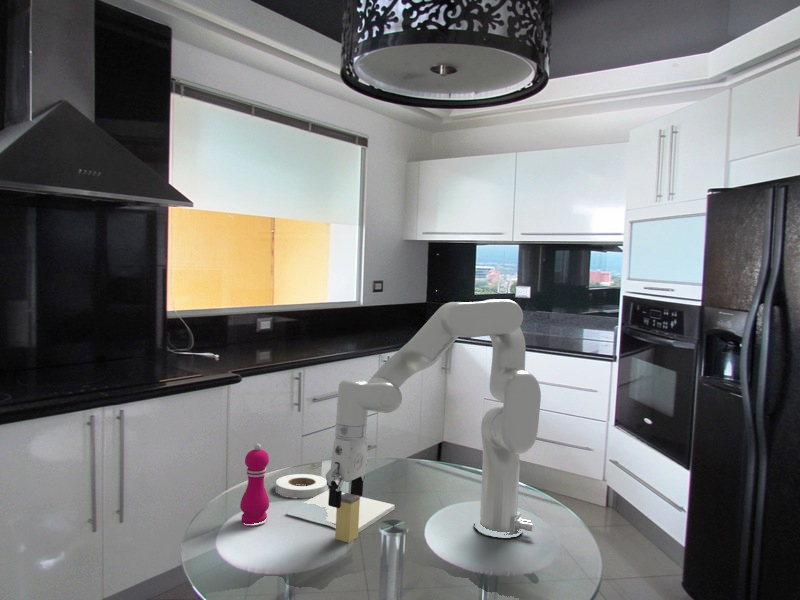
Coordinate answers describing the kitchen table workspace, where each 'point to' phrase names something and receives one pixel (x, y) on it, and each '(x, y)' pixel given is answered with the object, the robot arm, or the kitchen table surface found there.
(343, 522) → the block
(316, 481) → the object
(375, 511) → the board
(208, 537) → the kitchen table surface
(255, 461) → the pepper mill
